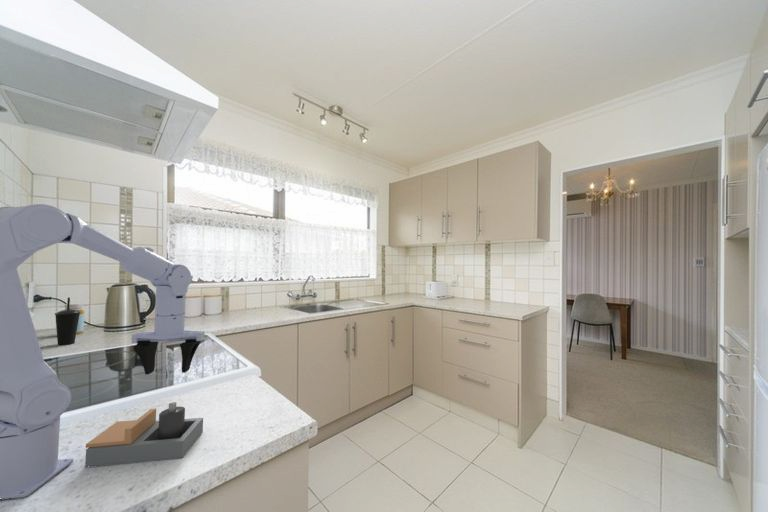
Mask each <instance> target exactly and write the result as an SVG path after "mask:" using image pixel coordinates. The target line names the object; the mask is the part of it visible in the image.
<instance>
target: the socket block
mask: <svg viewBox="0 0 768 512" xmlns="http://www.w3.org/2000/svg"><path fill="white" fill-rule="evenodd" d="M158 429H159V420H156V422H155V423H154V424H153V425H151V426H150V427H149V428H148V429H147V430H146V431H145V432H143V433H142V434H141V435H140V436H139V437H138V438H137V439H135V440H134V441H133V442H132V443H131V444H122V445H111V446H100V447H88V448H85V464H84V468H85V467H86V468H89V467H88V466H96V467H102V466H103V465H106V466H113V465H114V466H115V465H124V464H136V463H146V462H157V461H165V460H167V461H168V460H177V459H183V458H184V456H185V455H186V454H188V452H189V450H190V449H191V448H192V447H193V445H194V444H195V443H196V441H197V440H198V439H199V438H200V436H201V435H202V434H203V433H204V417H195V418H194V417H193V418H192V417H191V418H185V421H184V434H183V435H182V437H181V438H176V439H165V440H158ZM103 467H104V466H103Z"/></svg>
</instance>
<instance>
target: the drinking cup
mask: <svg viewBox="0 0 768 512" xmlns="http://www.w3.org/2000/svg"><path fill="white" fill-rule="evenodd" d="M70 303H71V297H67V303H66V304H67V310H65V309H62V310H59V311H57V312H55V313H54V316H55V325H56V327H55V328H56V338H57V346H68V345H73V344H75V342H76V337H77V335H76V332H77V327H78V321H79V315H80V313H81V311H78V310H73V309H69V307H70Z"/></svg>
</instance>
